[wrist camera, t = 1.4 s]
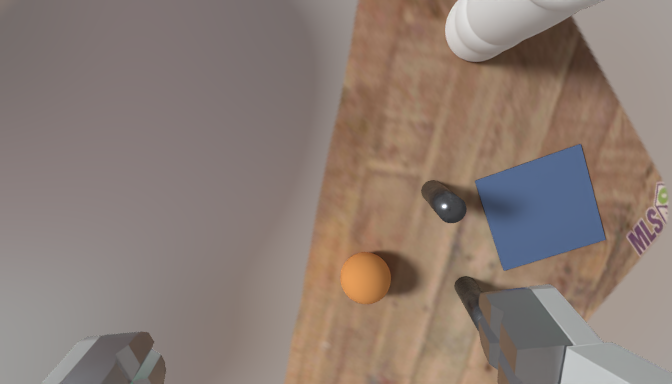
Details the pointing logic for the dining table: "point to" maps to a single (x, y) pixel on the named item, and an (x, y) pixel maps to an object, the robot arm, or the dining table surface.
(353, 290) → the ball
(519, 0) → the water bottle
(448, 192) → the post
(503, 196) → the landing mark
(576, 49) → the dining table surface
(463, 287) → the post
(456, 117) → the dining table surface
